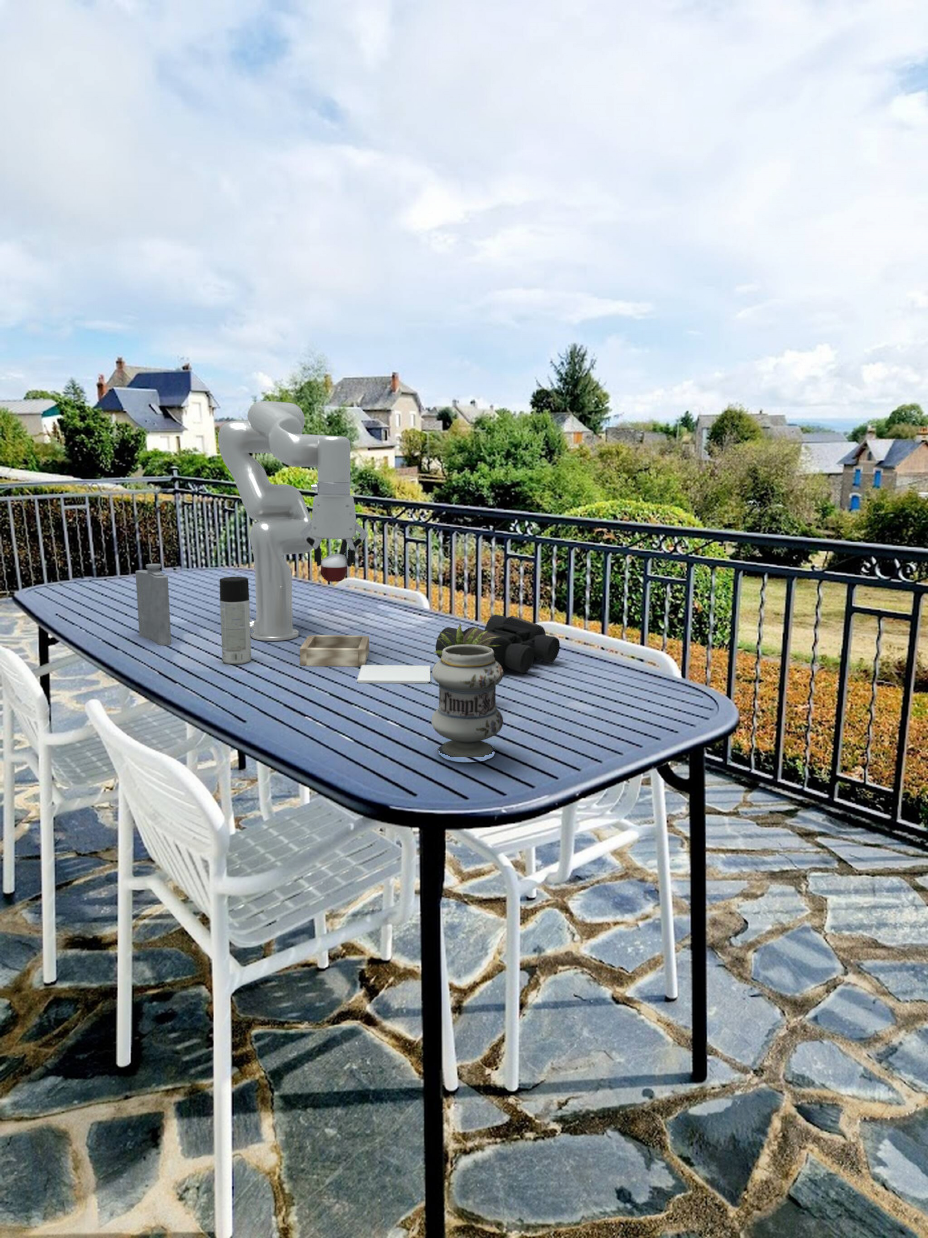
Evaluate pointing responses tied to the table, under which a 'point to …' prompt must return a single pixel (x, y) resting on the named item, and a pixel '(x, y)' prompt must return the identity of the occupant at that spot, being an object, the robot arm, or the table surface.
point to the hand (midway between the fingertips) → (334, 565)
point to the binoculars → (510, 642)
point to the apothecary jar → (467, 700)
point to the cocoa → (335, 565)
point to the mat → (393, 674)
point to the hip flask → (153, 604)
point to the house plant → (460, 639)
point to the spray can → (235, 620)
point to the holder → (334, 650)
